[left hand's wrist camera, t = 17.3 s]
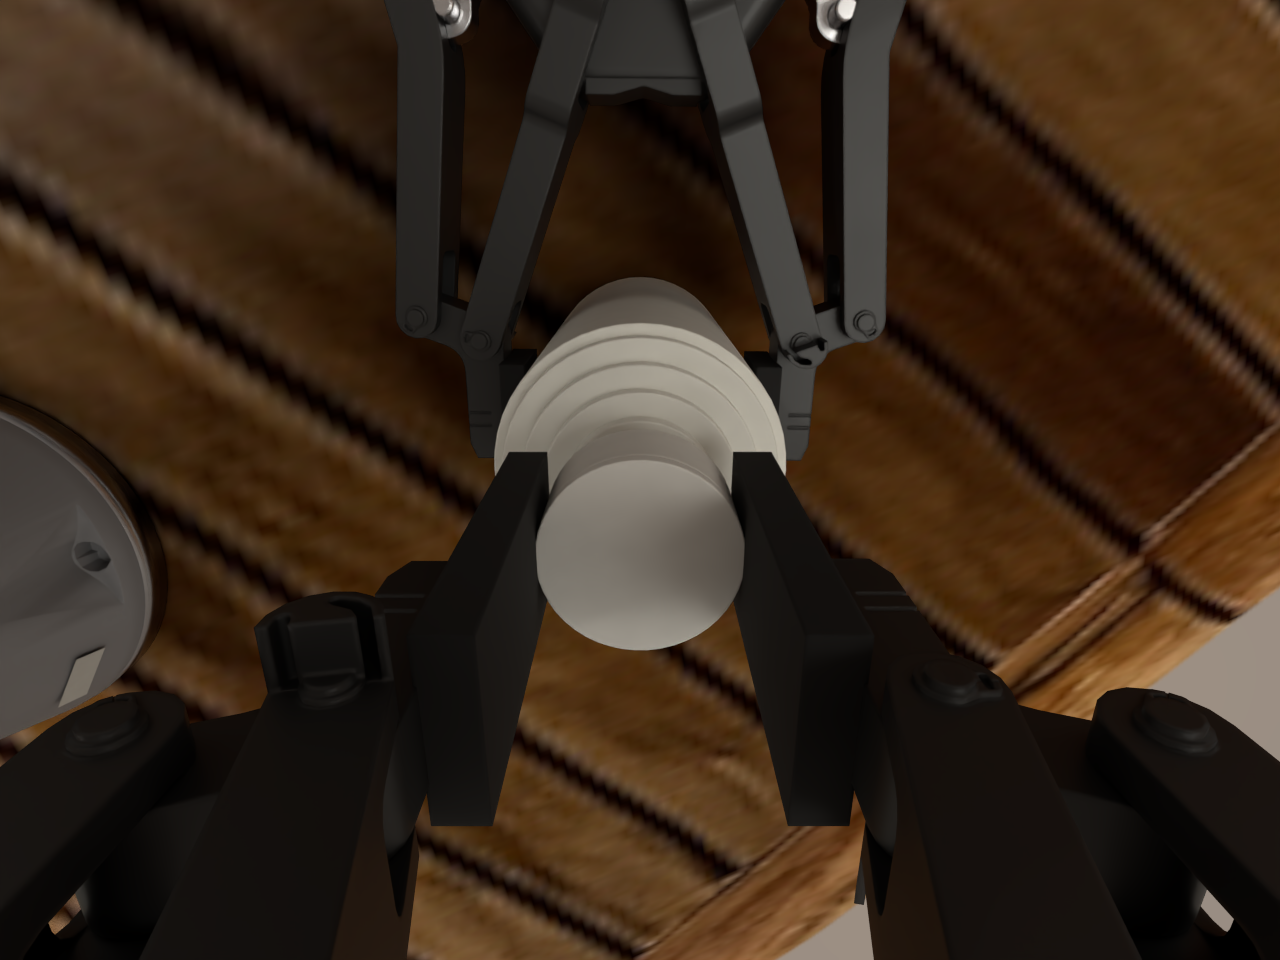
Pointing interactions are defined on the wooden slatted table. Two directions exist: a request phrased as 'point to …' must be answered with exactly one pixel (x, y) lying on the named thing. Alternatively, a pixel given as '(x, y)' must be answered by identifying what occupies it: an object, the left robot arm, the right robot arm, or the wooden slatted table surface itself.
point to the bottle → (640, 381)
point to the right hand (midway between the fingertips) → (638, 544)
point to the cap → (640, 541)
